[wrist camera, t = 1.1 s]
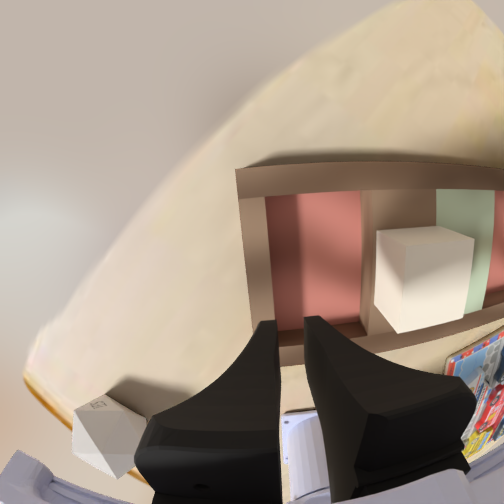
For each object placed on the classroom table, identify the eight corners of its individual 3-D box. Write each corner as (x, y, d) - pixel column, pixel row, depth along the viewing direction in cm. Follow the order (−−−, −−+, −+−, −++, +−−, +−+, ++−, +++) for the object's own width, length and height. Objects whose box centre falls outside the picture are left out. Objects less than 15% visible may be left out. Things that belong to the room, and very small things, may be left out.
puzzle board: (443, 353, 22) (455, 367, 20) (554, 285, 20) (566, 292, 18) (412, 477, 30) (416, 488, 27) (508, 422, 28) (514, 430, 25)
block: (432, 293, 17) (462, 318, 13) (373, 303, 18) (397, 333, 14) (438, 225, 16) (474, 239, 12) (376, 230, 16) (406, 246, 12)
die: (129, 373, 24) (45, 407, 16) (180, 447, 21) (97, 492, 14) (120, 394, 28) (55, 421, 21) (161, 452, 25) (96, 486, 18)
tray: (510, 300, 20) (523, 309, 18) (257, 349, 22) (257, 368, 19) (522, 172, 17) (538, 174, 14) (238, 170, 18) (235, 169, 16)
